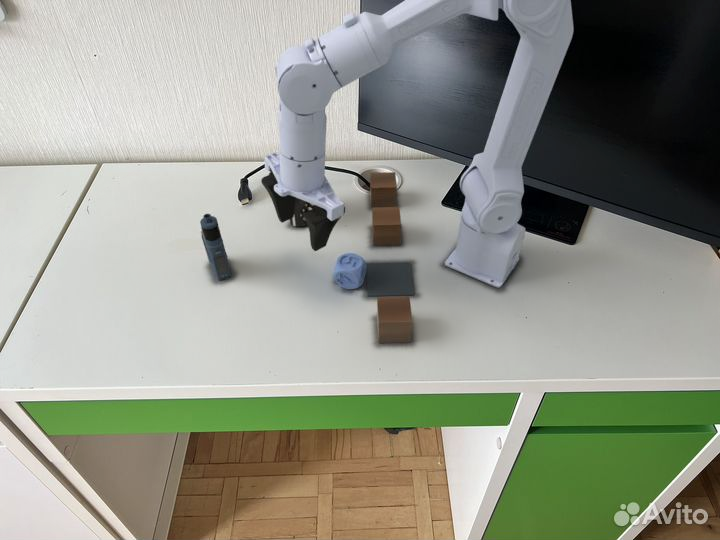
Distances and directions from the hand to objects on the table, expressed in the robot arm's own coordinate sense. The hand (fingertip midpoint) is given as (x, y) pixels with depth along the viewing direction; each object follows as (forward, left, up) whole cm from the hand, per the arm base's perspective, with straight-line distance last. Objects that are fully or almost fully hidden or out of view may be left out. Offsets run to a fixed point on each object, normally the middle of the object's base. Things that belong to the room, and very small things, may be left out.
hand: (302, 232), depth 75 cm
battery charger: (+10, -12, -10) cm, 19 cm away
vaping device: (+13, +6, -10) cm, 17 cm away
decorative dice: (-6, -4, -10) cm, 12 cm away
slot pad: (-10, -7, -10) cm, 16 cm away
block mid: (-5, -15, -10) cm, 19 cm away
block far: (+1, -23, -10) cm, 25 cm away
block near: (-16, +1, -10) cm, 19 cm away
